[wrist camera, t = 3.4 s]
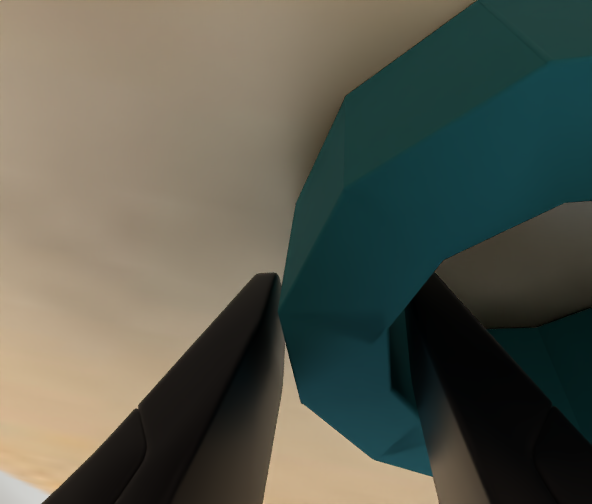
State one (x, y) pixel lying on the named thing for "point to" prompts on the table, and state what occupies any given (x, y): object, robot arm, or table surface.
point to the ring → (438, 212)
